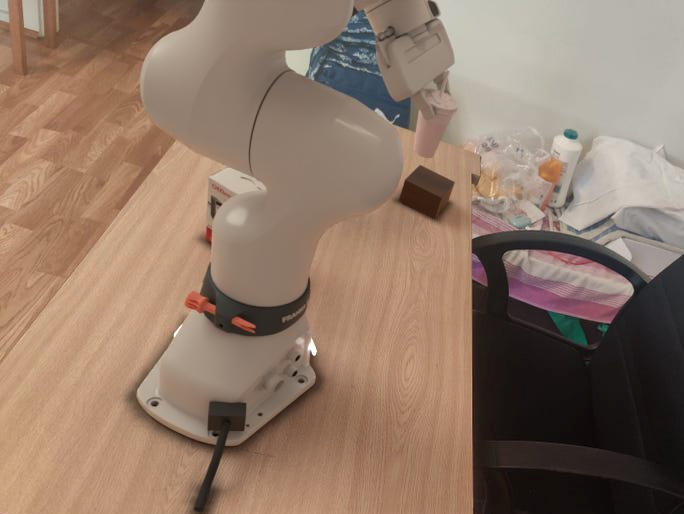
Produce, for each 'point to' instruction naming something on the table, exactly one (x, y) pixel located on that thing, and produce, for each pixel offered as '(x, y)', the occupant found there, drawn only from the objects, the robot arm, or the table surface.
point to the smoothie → (434, 121)
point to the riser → (426, 191)
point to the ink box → (226, 191)
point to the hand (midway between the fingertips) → (440, 110)
